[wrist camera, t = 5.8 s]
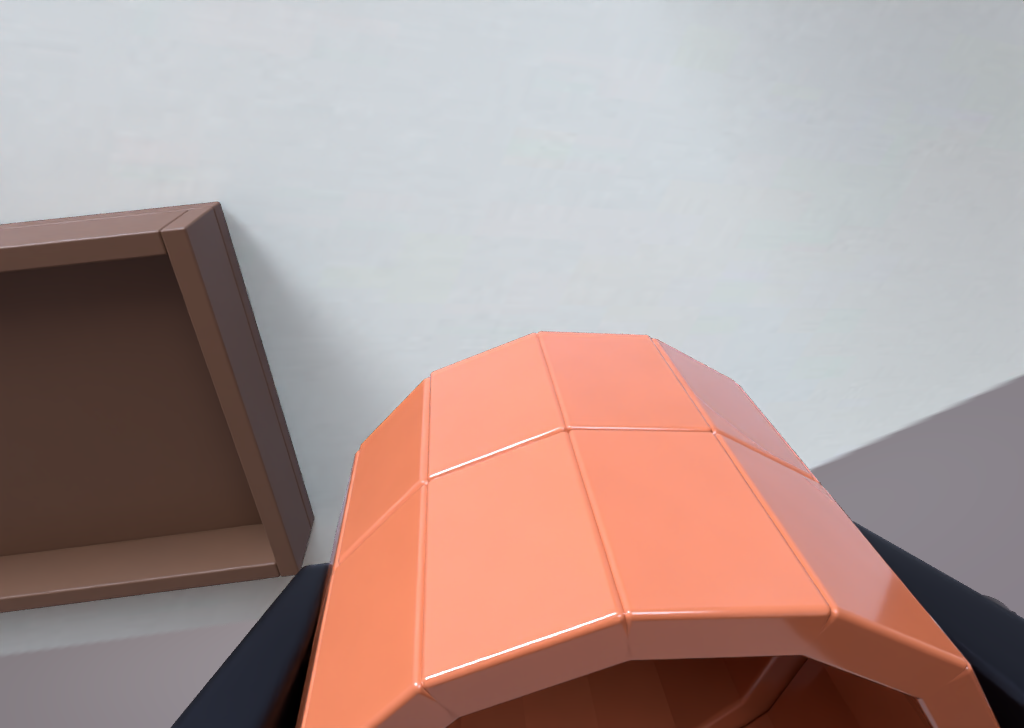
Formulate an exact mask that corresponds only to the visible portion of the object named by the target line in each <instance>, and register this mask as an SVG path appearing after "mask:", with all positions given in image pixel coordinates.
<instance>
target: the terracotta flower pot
mask: <svg viewBox="0 0 1024 728" xmlns="http://www.w3.org/2000/svg"><path fill="white" fill-rule="evenodd" d="M295 728H1001V727H1000V725H999V723H998V721H997V719H996V717H995V714H994V712H993V710H992V708H991V706H990V704H989V702H988V700H987V697H986V695H985V693H984V691H983V689H982V687H981V685H980V683H979V680H978V678H977V676H976V674H975V672H974V670H973V668H972V666H971V664H970V663H969V661H968V660H967V659H966V658H965V657H964V655H963V654H962V653H961V652H960V651H959V649H958V648H957V647H956V646H955V645H954V643H953V642H952V641H951V640H950V639H949V637H948V636H947V635H946V634H945V632H944V631H943V630H942V629H941V628H940V626H939V625H938V624H937V623H936V622H935V620H934V619H933V618H932V617H931V616H930V614H929V613H928V612H927V611H926V610H925V608H924V607H923V606H922V605H921V604H920V602H919V601H918V600H917V599H916V597H915V596H914V595H913V594H912V593H911V591H910V590H909V589H908V588H907V587H906V585H905V584H904V583H903V582H902V581H901V579H900V578H899V577H898V576H897V575H896V573H895V572H894V571H893V570H892V569H891V567H890V566H889V565H888V564H887V562H886V561H885V560H884V559H883V558H882V556H881V555H880V554H879V553H878V552H877V550H876V549H875V548H874V547H873V546H872V544H871V543H870V542H869V541H868V540H867V538H866V537H865V536H864V535H863V533H862V532H861V531H860V530H859V529H858V527H857V526H856V525H855V524H854V523H853V521H852V520H851V519H850V518H849V517H848V515H847V514H846V513H845V512H844V511H843V509H842V508H841V507H840V506H839V505H838V503H837V502H836V501H835V500H834V498H833V497H832V496H831V495H830V494H829V492H828V491H827V490H826V489H824V488H823V487H822V485H821V484H820V482H819V480H818V479H817V478H816V477H815V476H814V475H813V473H812V472H811V471H810V470H809V468H808V467H807V466H806V465H805V464H804V462H803V461H802V460H801V459H800V458H799V456H798V455H797V454H796V453H795V451H794V450H793V449H792V448H791V447H790V445H789V444H788V443H787V442H786V441H785V439H784V438H783V437H782V436H781V435H780V433H779V432H778V431H777V430H776V429H775V427H774V426H773V425H772V424H771V423H770V421H769V420H768V419H767V418H766V416H765V415H764V414H763V413H762V412H761V410H760V409H759V408H758V407H757V406H756V404H755V403H754V402H753V401H752V400H751V398H750V397H749V396H748V395H747V394H746V392H745V391H744V390H743V389H742V388H741V386H740V385H738V384H737V383H735V381H734V380H732V379H730V378H729V377H727V376H725V375H723V374H721V373H719V372H717V371H716V370H714V369H712V368H710V367H708V366H706V365H704V364H702V363H701V362H699V361H697V360H695V359H693V358H691V357H689V356H688V355H686V354H684V353H682V352H680V351H678V350H676V349H675V348H673V347H671V346H669V345H667V344H665V343H663V342H661V341H660V340H658V339H653V338H650V336H648V335H631V334H603V333H575V332H547V331H540V332H538V334H537V333H531V334H529V335H526V336H524V337H521V338H518V339H516V340H513V341H511V342H508V343H506V344H503V345H500V346H498V347H495V348H493V349H490V350H487V351H485V352H482V353H480V354H477V355H475V356H472V357H469V358H467V359H464V360H462V361H459V362H457V363H454V364H451V365H449V366H446V367H444V368H441V369H438V370H436V371H433V372H432V373H431V374H430V377H428V378H426V379H424V380H423V381H422V382H421V383H420V384H419V385H418V386H417V387H416V388H415V389H414V390H413V391H412V392H411V393H410V394H409V396H408V397H407V398H406V399H405V400H404V401H403V402H402V403H401V404H400V405H399V406H398V407H397V408H396V409H395V410H394V411H393V412H392V413H391V414H390V415H389V416H388V417H387V418H386V419H385V420H384V421H383V422H382V423H381V424H380V425H379V426H378V428H377V429H376V430H375V431H374V432H373V433H372V434H371V435H370V436H369V437H368V438H367V439H366V440H365V441H364V442H363V443H362V444H361V446H360V449H359V450H358V452H357V453H356V454H355V457H354V461H353V465H352V469H351V473H350V477H349V481H348V485H347V489H346V493H345V497H344V501H343V505H342V509H341V513H340V517H339V521H338V525H337V530H336V534H335V539H334V544H333V549H332V554H331V559H330V563H329V568H328V573H327V578H326V583H325V587H324V592H323V597H322V602H321V607H320V612H319V616H318V621H317V626H316V631H315V636H314V641H313V645H312V652H311V656H310V660H309V664H308V669H307V674H306V679H305V683H304V688H303V693H302V698H301V703H300V707H299V712H298V717H297V722H296V727H295Z"/></svg>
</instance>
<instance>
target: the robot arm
mask: <svg viewBox="0 0 1024 728" xmlns="http://www.w3.org/2000/svg"><path fill="white" fill-rule="evenodd" d="M853 523H854V524H855V525H856V526H857V527H858V529H859V530H860V531H861V532H862V533H863V535H864V536H865V537H866V538H867V540H868V541H869V542H870V543H871V544H872V546H873V547H874V548H875V549H876V550H877V552H878V553H879V554H880V555H881V556H882V558H883V559H884V560H885V561H886V562H887V564H888V565H889V566H890V567H891V569H892V570H893V571H894V572H895V573H896V575H897V576H898V577H899V578H900V579H901V581H902V582H903V583H904V584H905V585H906V587H907V588H908V589H909V590H910V591H911V593H912V594H913V595H914V596H915V597H916V599H917V600H918V601H919V602H920V604H921V605H922V606H923V607H924V608H925V610H926V611H927V612H928V613H929V614H930V616H931V617H932V618H933V619H934V620H935V622H936V623H937V624H938V625H939V626H940V628H941V629H942V630H943V631H944V632H945V634H946V635H947V636H948V637H949V639H950V640H951V641H952V642H953V643H954V645H955V646H956V647H957V648H958V649H959V651H960V652H961V653H962V654H963V655H964V657H965V658H966V659H967V660H968V661H969V663H970V664H971V666H972V668H973V670H974V672H975V674H976V676H977V678H978V680H979V683H980V685H981V687H982V689H983V691H984V693H985V695H986V697H987V700H988V702H989V704H990V706H991V708H992V710H993V712H994V714H995V717H996V719H997V721H998V723H999V725H1000V727H1001V728H1024V619H1023V618H1022V617H1020V616H1018V615H1017V614H1016V613H1015V612H1013V611H1009V610H1008V609H1006V608H1004V607H1002V606H1001V605H999V604H997V603H995V602H994V601H992V600H990V599H988V598H987V597H985V596H983V595H981V594H980V593H978V592H976V591H974V590H972V589H971V588H969V587H967V586H966V585H964V584H962V583H960V582H959V581H957V580H955V579H953V578H952V577H950V576H948V575H946V574H945V573H943V572H941V571H939V570H938V569H936V568H934V567H932V566H931V565H929V564H927V563H925V562H924V561H922V560H920V559H918V558H917V557H915V556H913V555H911V554H909V553H908V552H906V551H904V550H903V549H901V548H899V547H897V546H896V545H894V544H892V543H890V542H889V541H887V540H885V539H883V538H882V537H880V536H878V535H876V534H875V533H873V532H871V531H869V530H868V529H866V528H864V527H862V526H861V525H859V524H857V523H855V522H853ZM328 568H329V563H324V564H316V565H308V566H305V567H303V568H302V569H301V570H300V571H299V572H298V573H297V574H296V575H295V577H294V578H293V579H292V580H291V582H290V583H289V584H288V585H287V586H286V588H285V589H284V590H283V591H282V593H281V594H280V595H279V596H278V597H277V599H276V600H275V601H274V602H273V603H272V605H271V606H270V607H269V608H268V610H267V611H266V612H265V613H264V614H263V616H262V617H261V618H260V619H259V621H258V622H257V623H256V624H255V625H254V627H253V628H252V629H251V630H250V632H249V633H248V634H247V635H246V636H245V638H244V639H243V640H242V641H241V643H240V644H239V645H238V646H237V647H236V649H235V650H234V651H233V652H232V653H231V655H230V656H229V657H228V658H227V660H226V661H225V662H224V663H223V664H222V666H221V667H220V668H219V669H218V671H217V672H216V673H215V674H214V675H213V677H212V678H211V679H210V680H209V682H208V683H207V684H206V685H205V686H204V688H203V689H202V690H201V691H200V693H199V694H198V695H197V696H196V698H195V699H194V700H193V701H192V702H191V704H190V705H189V706H188V707H187V708H186V710H185V711H184V712H183V713H182V714H181V716H180V717H179V718H178V719H177V721H176V722H175V723H174V724H173V726H172V727H171V728H295V727H296V722H297V717H298V712H299V707H300V703H301V698H302V693H303V688H304V683H305V679H306V674H307V669H308V664H309V660H310V656H311V652H312V645H313V641H314V636H315V631H316V626H317V621H318V616H319V612H320V607H321V602H322V597H323V592H324V587H325V583H326V578H327V573H328Z"/></svg>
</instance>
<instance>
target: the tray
mask: <svg viewBox="0 0 1024 728" xmlns="http://www.w3.org/2000/svg"><path fill="white" fill-rule="evenodd" d="M313 522H314V515H313V512H312V509H311V505H310V502H309V499H308V495H307V492H306V489H305V485H304V482H303V479H302V475H301V472H300V469H299V465H298V462H297V458H296V455H295V452H294V448H293V445H292V442H291V438H290V435H289V432H288V428H287V425H286V422H285V418H284V415H283V412H282V408H281V405H280V402H279V398H278V395H277V392H276V388H275V385H274V382H273V378H272V375H271V371H270V368H269V365H268V361H267V358H266V355H265V351H264V348H263V345H262V341H261V338H260V335H259V331H258V328H257V325H256V321H255V318H254V315H253V311H252V308H251V305H250V301H249V298H248V294H247V291H246V288H245V284H244V281H243V278H242V274H241V271H240V268H239V264H238V261H237V258H236V254H235V251H234V248H233V244H232V241H231V238H230V234H229V231H228V228H227V224H226V221H225V217H224V214H223V211H222V207H221V204H220V203H219V202H211V203H201V204H192V205H182V206H173V207H163V208H153V209H144V210H134V211H125V212H115V213H106V214H96V215H87V216H77V217H68V218H58V219H49V220H39V221H29V222H20V223H10V224H1V225H0V613H3V612H11V611H19V610H26V609H34V608H42V607H50V606H57V605H65V604H73V603H81V602H88V601H96V600H104V599H111V598H119V597H127V596H135V595H142V594H150V593H158V592H166V591H173V590H181V589H189V588H197V587H204V586H212V585H220V584H228V583H235V582H243V581H251V580H259V579H266V578H274V577H279V576H280V575H281V576H282V577H283V576H291V575H296V574H297V573H298V572H299V571H300V570H301V567H302V563H303V559H304V556H305V552H306V548H307V545H308V541H309V537H310V534H311V529H312V526H313Z"/></svg>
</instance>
